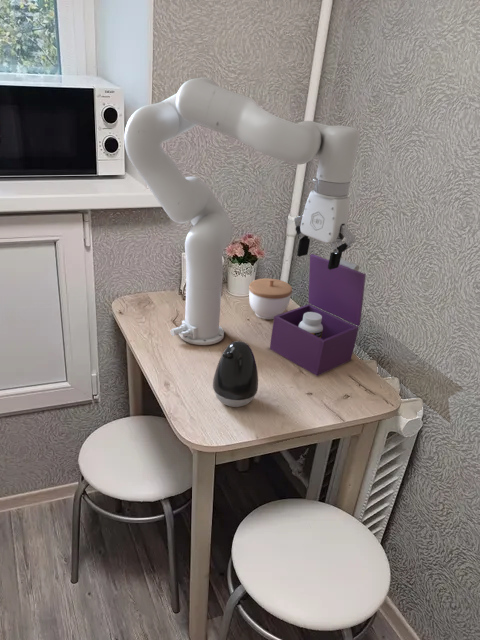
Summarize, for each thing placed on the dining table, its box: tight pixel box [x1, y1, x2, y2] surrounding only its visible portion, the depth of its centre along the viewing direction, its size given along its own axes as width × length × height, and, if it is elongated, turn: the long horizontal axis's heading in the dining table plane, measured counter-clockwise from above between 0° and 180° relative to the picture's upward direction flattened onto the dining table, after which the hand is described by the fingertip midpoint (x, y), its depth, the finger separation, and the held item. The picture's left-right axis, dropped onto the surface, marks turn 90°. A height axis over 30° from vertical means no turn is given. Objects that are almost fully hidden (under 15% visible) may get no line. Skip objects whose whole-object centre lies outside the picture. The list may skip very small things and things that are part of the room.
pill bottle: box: [298, 312, 323, 338], centre depth 135 cm, size 6×6×11 cm
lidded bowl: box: [248, 277, 293, 320], centre depth 156 cm, size 13×13×11 cm
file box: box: [269, 303, 360, 377], centre depth 137 cm, size 14×17×10 cm
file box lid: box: [307, 253, 367, 327], centre depth 134 cm, size 14×17×6 cm
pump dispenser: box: [212, 340, 259, 408], centre depth 116 cm, size 10×10×15 cm
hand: (317, 261), depth 126 cm, fingers open, 9 cm apart
